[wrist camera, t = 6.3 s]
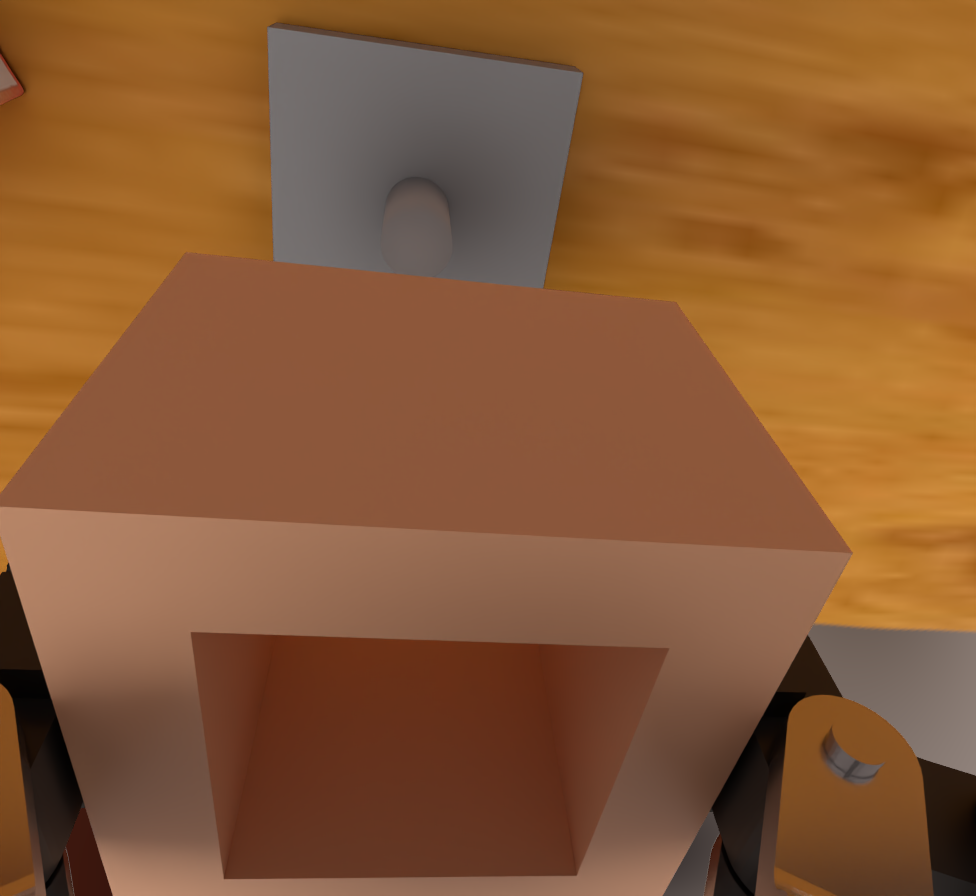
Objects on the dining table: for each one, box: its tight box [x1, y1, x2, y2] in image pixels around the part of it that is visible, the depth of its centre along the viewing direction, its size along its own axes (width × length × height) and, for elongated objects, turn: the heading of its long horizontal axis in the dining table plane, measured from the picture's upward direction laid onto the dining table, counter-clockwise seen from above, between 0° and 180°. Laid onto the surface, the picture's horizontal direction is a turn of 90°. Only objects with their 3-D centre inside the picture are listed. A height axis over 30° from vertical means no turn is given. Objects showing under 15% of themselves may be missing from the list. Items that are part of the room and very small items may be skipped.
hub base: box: [267, 23, 583, 289], centre depth 24 cm, size 17×9×6 cm, turn 172°
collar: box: [0, 252, 853, 896], centre depth 9 cm, size 6×6×5 cm
